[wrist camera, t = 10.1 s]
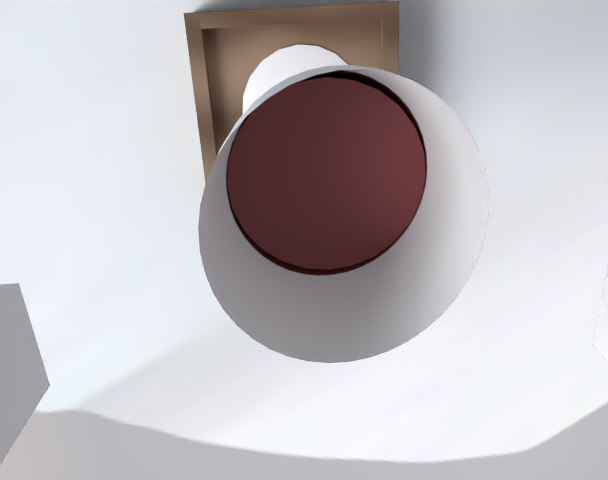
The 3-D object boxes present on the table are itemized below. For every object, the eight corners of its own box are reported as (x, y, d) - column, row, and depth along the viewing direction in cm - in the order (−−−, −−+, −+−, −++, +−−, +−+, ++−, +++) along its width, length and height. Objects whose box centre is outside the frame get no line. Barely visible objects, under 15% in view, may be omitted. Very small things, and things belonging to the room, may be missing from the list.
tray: (192, 13, 38) (183, 13, 34) (389, 2, 38) (399, 1, 35) (215, 200, 43) (209, 215, 40) (387, 190, 43) (395, 204, 40)
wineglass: (384, 51, 37) (537, 108, 16) (346, 187, 40) (429, 380, 19) (253, 19, 35) (229, 33, 14) (227, 162, 39) (177, 340, 18)
